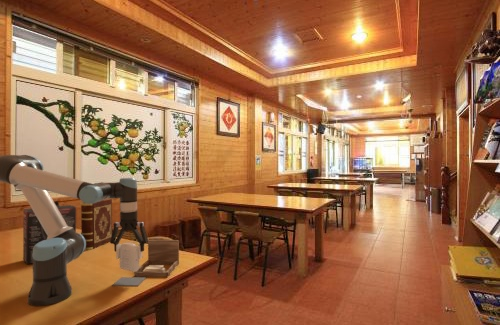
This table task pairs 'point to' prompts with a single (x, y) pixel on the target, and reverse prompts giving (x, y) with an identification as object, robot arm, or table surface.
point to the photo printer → (129, 257)
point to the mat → (129, 281)
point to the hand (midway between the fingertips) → (129, 258)
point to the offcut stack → (154, 268)
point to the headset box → (41, 228)
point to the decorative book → (96, 223)
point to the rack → (160, 257)
